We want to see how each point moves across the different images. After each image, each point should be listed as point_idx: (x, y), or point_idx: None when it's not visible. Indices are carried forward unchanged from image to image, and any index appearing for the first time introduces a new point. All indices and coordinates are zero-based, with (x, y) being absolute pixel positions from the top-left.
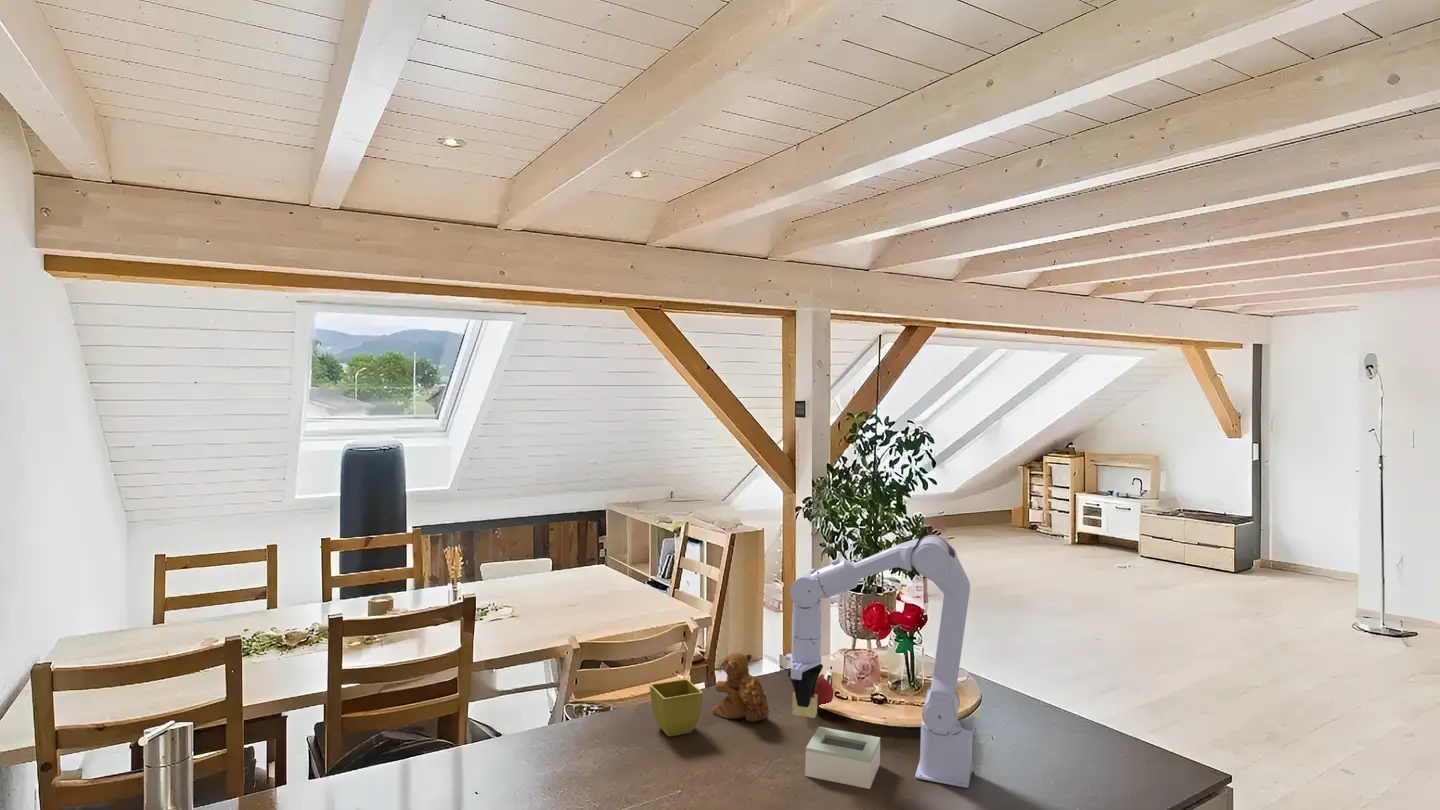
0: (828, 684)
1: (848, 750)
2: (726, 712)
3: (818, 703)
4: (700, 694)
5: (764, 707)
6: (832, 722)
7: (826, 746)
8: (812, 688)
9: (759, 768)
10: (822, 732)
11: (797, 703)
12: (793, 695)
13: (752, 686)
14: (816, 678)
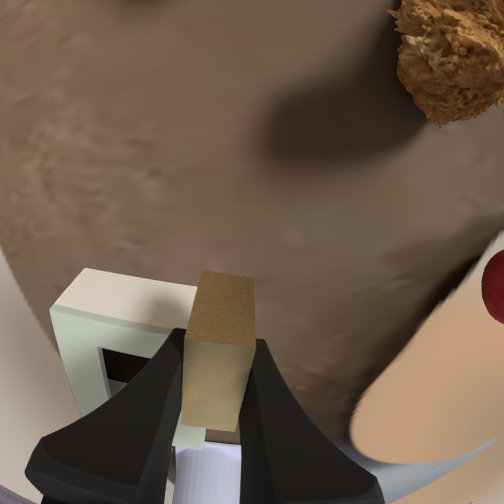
0: None
1: (96, 399)
2: None
3: (484, 278)
4: None
5: (436, 106)
6: (424, 303)
7: (86, 359)
8: (243, 437)
9: (77, 142)
10: None
11: (169, 334)
12: (185, 336)
13: (450, 35)
14: (240, 499)
